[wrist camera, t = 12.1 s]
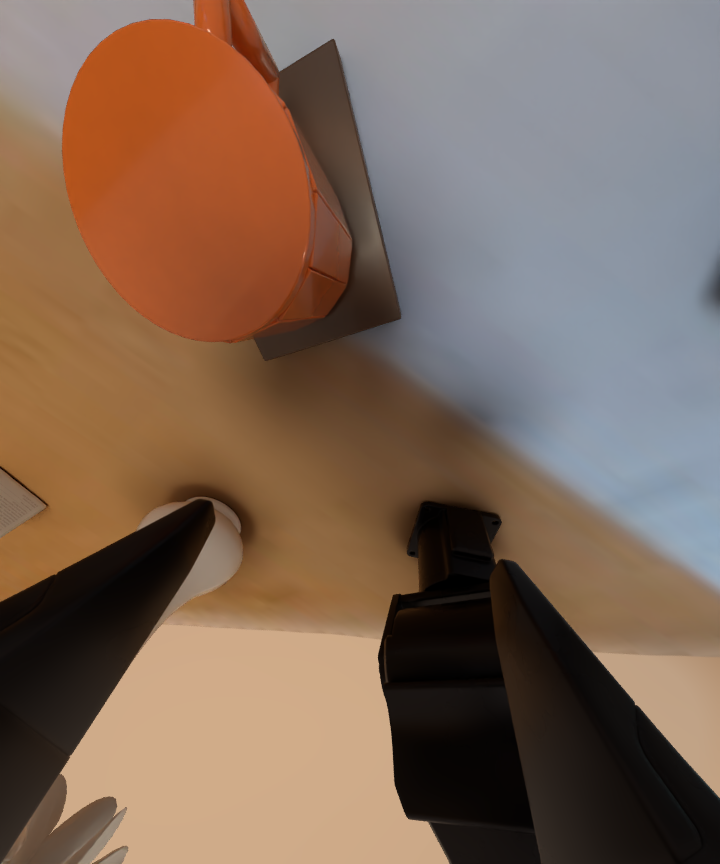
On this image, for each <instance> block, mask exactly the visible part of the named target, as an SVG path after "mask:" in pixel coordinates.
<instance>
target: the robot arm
mask: <svg viewBox="0 0 720 864" xmlns="http://www.w3.org/2000/svg"><path fill="white" fill-rule="evenodd" d="M426 507H428V508H426ZM215 521H216V517H215V512H214V506H213V503H212V501H210V500H206V499H196V500H194V501H192V502H190V503H189V504H187V505H185V506H183V507H181V508H179V509H177V510H175V511H173V512H171V513H170V514H168V515H166V516H164V517H162V518H160V519H158V520H156V521H154V522H153V523H151V524H149V525H147V526H145V527H143V528H141V529H139V530H137V531H135V532H134V533H132V534H130V535H128V536H126V537H124V538H122V539H120V540H118V541H117V542H115V543H113V544H111V545H109V546H107V547H105V548H103V549H101V550H99V551H98V552H96V553H94V554H92V555H90V556H88V557H86V558H84V559H82V560H80V561H79V562H77V563H75V564H73V565H71V566H69V567H67V568H65V569H63V570H62V571H60V572H58V573H57V574H56V575H52V576H50V577H48V578H46V579H44V580H42V581H40V582H39V583H37V584H35V585H33V586H31V587H29V588H27V589H25V590H23V591H21V592H19V593H17V594H15V595H13V596H11V597H9V598H7V599H5V600H3V601H1V602H0V864H1V863H2V861H3V860H4V858H5V857H6V855H7V854H8V852H9V851H10V849H11V848H12V846H13V845H14V843H15V841H16V840H17V838H18V837H19V835H20V834H21V832H22V831H23V829H24V828H25V826H26V825H27V823H28V821H29V820H30V818H31V817H32V815H33V814H34V812H35V811H36V809H37V808H38V806H39V805H40V803H41V801H42V800H43V798H44V797H45V795H46V794H47V792H48V791H49V789H50V788H51V786H52V785H53V783H54V781H55V780H56V778H57V777H58V775H59V774H60V772H61V771H62V769H63V767H64V766H65V764H66V763H67V761H68V760H69V758H70V755H72V753H73V752H74V750H75V749H76V747H77V745H78V744H79V743H80V741H81V739H82V738H83V736H84V735H85V733H86V732H87V730H88V729H89V727H90V726H91V724H92V722H93V721H94V719H95V718H96V716H97V715H98V713H99V712H100V710H101V708H102V707H103V706H104V704H105V702H106V701H107V699H108V698H109V696H110V694H111V693H112V692H113V690H114V689H115V687H116V686H117V684H118V682H119V681H120V679H121V678H122V676H123V674H124V673H125V671H126V670H127V669H128V667H129V665H130V664H131V662H132V661H133V659H134V658H135V656H136V655H137V653H138V652H139V650H140V649H141V647H142V646H143V644H144V642H145V641H146V639H147V638H148V636H149V635H150V633H151V632H152V630H153V629H154V627H155V625H156V624H157V622H158V621H159V619H160V618H161V616H162V615H163V613H164V612H165V610H166V609H167V607H168V605H169V604H170V602H171V601H172V599H173V598H174V596H175V595H176V593H177V592H178V590H179V589H180V587H181V585H182V584H183V582H184V581H185V579H186V578H187V576H188V574H189V573H190V571H191V569H192V568H193V566H194V564H195V562H196V560H197V558H198V556H199V554H200V552H201V550H202V548H203V547H204V545H205V543H206V541H207V539H208V537H209V535H210V533H211V531H212V529H213V527H214V525H215ZM501 523H502V522H501V519H500V517H499V516H498V515H494V514H489V513H484V512H479V511H474V510H468V509H463V508H458V507H453V506H447V505H442V504H437V503H432V502H423V503H421V505H420V508H419V511H418V515H417V518H416V521H415V524H414V528H413V531H412V534H411V537H410V540H409V544H408V547H407V554H408V555H409V556H411V557H416V558H418V569H419V592H418V593H411V594H405V595H401V594H395V595H393V597H392V601H391V605H390V609H389V613H388V617H387V621H386V625H385V629H384V633H383V636H382V640H381V645H380V649H379V653H378V661H379V673H380V679H381V684H382V689H383V692H384V696H385V699H386V702H387V707H388V712H389V718H390V726H391V735H392V746H393V765H394V782H395V787H396V790H397V793H398V796H399V799H400V801H401V804H402V807H403V809H404V812H405V814H406V816H407V818H408V819H411V820H419V821H427V822H429V824H430V827H431V828H432V830H433V832H434V834H435V836H436V838H437V840H438V842H439V843H440V845H441V847H442V849H443V851H444V853H445V855H446V857H447V859H448V860H449V863H450V864H720V798H719V797H718V796H717V795H716V794H715V793H714V791H713V790H712V789H711V788H710V787H709V786H708V785H707V784H706V783H705V781H703V779H702V778H701V777H700V776H699V775H698V774H697V773H696V772H695V771H694V770H693V768H692V767H691V766H690V765H689V764H688V763H687V762H686V761H685V760H684V759H683V757H682V756H681V755H680V754H679V753H678V752H677V751H676V749H675V748H674V747H673V746H672V745H671V744H670V742H669V741H668V740H667V739H666V738H665V737H664V736H663V735H662V733H661V732H660V731H659V730H658V729H657V728H656V726H655V725H654V724H653V723H652V722H651V720H650V719H649V718H648V717H647V716H646V715H645V713H644V712H643V711H642V710H641V709H640V708H639V707H638V706H637V705H635V702H634V701H633V699H632V698H631V697H630V696H629V695H628V694H627V693H626V691H625V690H624V689H623V688H622V687H621V685H620V684H619V683H618V682H617V681H616V680H615V679H614V677H613V676H612V675H611V674H610V672H609V671H608V670H607V669H606V668H605V667H604V665H603V664H602V663H601V662H600V661H599V660H598V658H597V657H596V656H595V655H594V654H593V652H592V651H591V650H590V649H589V648H588V647H587V645H586V644H585V643H584V642H583V641H582V639H581V638H580V637H579V636H578V635H577V634H576V632H575V631H574V630H573V629H572V628H571V627H570V625H569V624H568V623H567V622H566V621H565V619H564V618H563V617H562V616H561V615H560V614H559V612H558V611H557V610H556V609H555V608H554V607H553V605H552V604H551V603H550V602H549V601H548V599H547V598H546V597H545V596H544V595H543V594H542V592H541V591H540V590H539V589H538V588H537V587H536V585H535V584H534V583H533V582H532V581H531V579H530V578H529V577H528V576H527V575H526V574H525V572H524V571H523V570H522V569H521V568H520V567H519V565H518V564H517V563H515V562H514V561H510V560H505V559H501V560H499V561H498V563H497V565H496V562H495V559H494V553H493V550H492V547H491V543H492V541H493V539H494V537H495V535H496V533H497V531H498V529H499V528H500V526H501Z"/></svg>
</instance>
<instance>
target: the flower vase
mask: <svg viewBox="0 0 720 864" xmlns="http://www.w3.org/2000/svg"><path fill="white" fill-rule="evenodd" d="M196 499H206V500H210V501H212V503H213V506H214V512H215V517H216V521H215V525H214V527H213V529H212V531H211V533H210V535H209V537H208V539H207V541H206V543H205V545H204V547H203V548H202V550H201V552H200V554H199V556H198V558H197V560H196V562H195V564H194V566H193V568H192V569H191V571H190V573H189V574H188V576H187V578H186V579H185V581H184V582H183V584H182V585H181V587H180V589H179V590H178V592H177V593H176V595H175V596H174V598H173V599H172V601H171V602H170V604H169V605H168V607H167V609H166V610H165V612H164V613H163V615H162V616H161V618H160V619H159V621H158V622H157V624H156V625H155V627H154V629H153V630H152V632H151V633H150V635H149V636H148V638H147V639H146V641H145V642H144V644H143V646H144V645H145V644H146V642H147V641H148V640H149V639H150V637H151V636H152V635H153V634H154V633H155V631H156V630H157V629H158V628H159V627H160V626H161V625H162V624H163V622H164V621H165V620H166V619H168V618H169V617H170V616H171V615H172V614H173V613H174V612H175V611H177V610H178V609H179V608H180V607H182V606H183V605H184V604H186V603H187V602H188V601H190V600H191V599H193V598H195V597H198V596H201V595H204V594H207V593H209V592H211V591H213V590H215V589H218V588H219V587H221V586H223V585H224V584H225V583H226V582H227V581H228V580H229V579H230V578H231V577H232V576H233V575H234V574H235V573H236V572H237V571H238V569H239V568H240V565H241V562H242V559H243V544H242V539H241V536H240V532H241V523H240V521H239V518H238V516H237V515H236V514H235V513H234V511H233V510H232V509H230V508H229V507H228V506H227V505H225V504H224V503H222V502H220V501H218V500H215V499H213V498H208V497H194V498H190V499H188V500H187V501H178V502H172V503H168V504H165V505H161V506H158V507H156V508H154V509H153V510H152V511H150V512H149V513H148V514H146V515H145V516H144V518H143V519H142V520H141V522H140V523H139V525H138V527H137V529H136V531H137V530H139V529H141V528H143V527H145V526H147V525H149V524H151V523H153V522H154V521H156V520H158V519H160V518H162V517H164V516H166V515H168V514H170V513H171V512H173V511H175V510H177V509H179V508H181V507H183V506H185V505H187V504H189V503H190V502H192V501H194V500H196ZM143 646H142V647H143ZM142 647H141V649H142ZM141 649H140V650H141ZM140 650H139V652H140ZM139 652H138V653H139ZM138 653H137V654H138ZM135 657H136V656H135ZM133 660H134V659H133ZM66 789H67V785H66V780H65V778H64V776H63V775H62V774H59V775H58V777H57V778H56V780H55V781H54V783H53V785H52V786H51V788H50V789H49V791H48V792H47V794H46V795H45V797H44V798H43V800H42V801H41V803H40V805H39V806H38V808H37V809H36V811H35V812H34V814H33V815H32V817H31V818H30V820H29V821H28V823H27V825H26V826H25V828H24V829H23V831H22V832H21V834H20V835H19V837H18V838H17V840H16V841H15V843H14V845H13V846H12V848H11V849H10V851H9V852H8V854H7V855H6V857H5V858H4V860H3V861H2V863H1V864H90V862H92V860H94V859H95V858H96V856H97V855H98V854H99V852H100V851H101V850H102V849H103V848H104V847H105V845H106V844H107V842H108V841H109V840H110V838H111V837H112V836H113V834H114V832H115V830H116V829H117V828H118V826H119V824H120V822H121V821H122V819H123V817H124V815H125V813H126V810H127V808H126V807H125V808H124V809H123V810H122V811H120V812H119V813H118V814H117V815H115V816H114V814H115V812H116V808H117V804H116V799H115V798H114V797H103V798H102V799H98V800H96V801H94V802H92V803H91V804H89V805H87V806H86V807H84V808H82V809H81V810H80V811H78V812H77V813H76V814H74V815H73V816H71V817H70V818H69V819H68V820H66V821H65V822H64V823H63V824H61V825H60V826H59V827H58V828H56V829H55V830H54V831H53V832H52V830H53V829H54V827H55V826H56V824H57V823H58V821H59V819H60V817H61V814H62V812H63V808H64V804H65V801H66V794H67V790H66ZM113 816H114V817H113ZM51 832H52V833H51ZM50 833H51V834H50ZM49 834H50V835H49ZM127 852H128V847H127V846H122V847H120V848H118V849H116V850H114V851H112V852H110V853H109V854H107V855H106V856H104V857H103V858H101V859H100V860H98V861H96V862H94V863H92V864H121V863H122V862H123V860H124V857H125V855H126V853H127Z"/></svg>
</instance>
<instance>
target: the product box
mask: <svg viewBox="0 0 720 864" xmlns="http://www.w3.org/2000/svg"><path fill="white" fill-rule="evenodd" d="M45 508H46V505H45V504H44V503H43V502H42V501H40V500H39V499H38V498H37V497H36V496H34V495H33V494H32V493H30V492H29V491H28V490H27V489H25V488H24V487H23V486H21V485H20V484H19V483H18V482H16V481H15V480H14V479H13V478H11V477H10V476H9V475H8V474H7V473H6V472H4V471H3V470H2V469H0V538H1V537H3V536H4V535H6V534H7V533H9V532H10V531H12V530H13V529H15V528H16V527H18V526H19V525H21V524H22V523H24V522H25V521H27V520H28V519H30V518H31V517H33V516H34V515H36V514H37V513H39V512H40V511H42V510H43V509H45Z"/></svg>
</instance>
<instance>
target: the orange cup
mask: <svg viewBox="0 0 720 864" xmlns="http://www.w3.org/2000/svg"><path fill="white" fill-rule="evenodd" d="M193 6H194V23H195V26H194V25H191V24H189V23H184V22H179V21H175V20H170V19H150V20H145V21H140V22H135V23H132V24H129V25H127V26H125V27H123V28H121V29H118V30H116V31H115V32H113V33H112V34H111V35H109V36H108V37H107V38H105V39H104V40H102V41H101V42H100V43H99V45H98V46H97V47H96V48H95V49H94V50H93V51H92V52H91V53H90V54H89V56H88V57H87V59H86V60H85V62H84V64H83V65H82V67H81V68H80V70H79V72H78V74H77V76H76V79H75V81H74V83H73V86H72V88H71V91H70V95H69V98H68V102H67V105H66V110H65V117H64V123H63V135H62V156H63V170H64V176H65V182H66V188H67V193H68V197H69V201H70V205H71V208H72V212H73V215H74V217H75V220H76V223H77V226H78V229H79V231H80V233H81V235H82V238H83V240H84V242H85V244H86V246H87V248H88V250H89V252H90V254H91V255H92V257H93V259H94V261H95V263H96V264H97V266H98V267H99V269H100V270H101V272H102V273H103V275H104V276H105V277H106V279H107V280H108V282H109V283H110V284H111V285H112V286H113V288H114V289H115V290H116V291H117V292H118V294H119V295H120V296H121V297H122V298H123V299H124V300H125V301H126V302H127V303H128V304H129V305H130V306H131V307H133V308H134V309H135V310H136V311H137V312H139V313H140V314H141V315H142V316H144V317H145V318H147V319H148V320H150V321H151V322H152V323H154V324H155V325H157V326H159V327H161V328H163V329H165V330H167V331H169V332H171V333H173V334H176V335H179V336H181V337H184V338H188V339H192V340H196V341H204V342H226V343H237V342H241V341H246V340H251V339H255V338H260V337H265V336H269V335H274V334H279V333H283V332H288V331H292V330H297V329H299V328H301V327H304V326H306V325H308V324H310V323H313V322H315V321H317V320H320V319H322V318H324V317H325V316H326V315H327V314H328V313H329V312H330V310H331V309H332V307H333V306H334V304H335V303H336V301H337V300H338V298H339V297H340V295H341V294H342V292H343V291H344V289H345V288H346V284H347V283H348V277H349V268H350V259H351V251H352V241H351V240H352V238H351V235H350V232H349V229H348V226H347V223H346V220H345V217H344V214H343V211H342V208H341V206H340V203H339V200H338V197H337V196H336V194H335V192H334V190H333V188H332V186H331V185H330V183H329V181H328V179H327V177H326V176H325V174H324V172H323V170H322V168H321V167H320V165H319V163H318V161H317V159H316V157H315V156H314V154H313V152H312V150H311V148H310V147H309V145H308V143H307V141H306V139H305V138H304V136H303V134H302V132H301V130H300V129H299V127H298V125H297V123H296V121H295V119H294V118H293V116H292V114H291V112H290V110H289V109H288V108H287V106H286V104H285V102H284V101H283V100H282V99H281V98H280V97H279V96H280V75H279V70H278V68H277V65H276V63H275V61H274V59H273V57H272V55H271V53H270V51H269V49H268V47H267V45H266V43H265V41H264V39H263V37H262V35H261V33H260V31H259V29H258V27H257V25H256V23H255V21H254V19H253V17H252V15H251V14H250V12H249V10H248V8H247V6H246V4H245V2H244V0H193ZM232 45H233V47H234V48H233V47H232Z"/></svg>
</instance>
